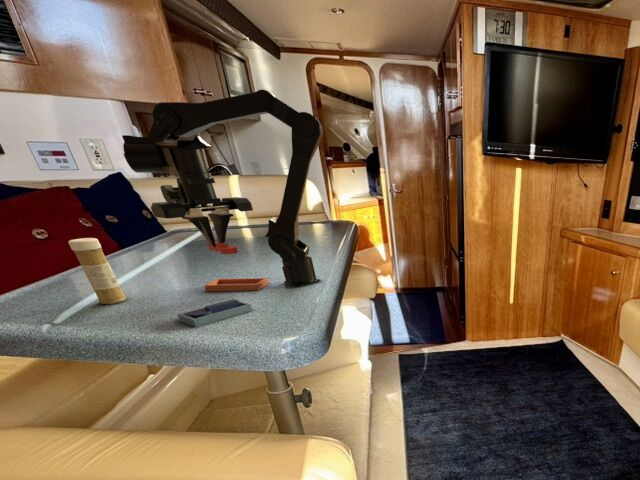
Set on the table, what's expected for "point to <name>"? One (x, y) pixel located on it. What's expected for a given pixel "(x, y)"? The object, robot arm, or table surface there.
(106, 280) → the sprinkles bottle
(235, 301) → the navy spoon
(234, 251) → the brick-red spoon
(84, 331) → the table surface
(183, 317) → the grey tray
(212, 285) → the terracotta tray
